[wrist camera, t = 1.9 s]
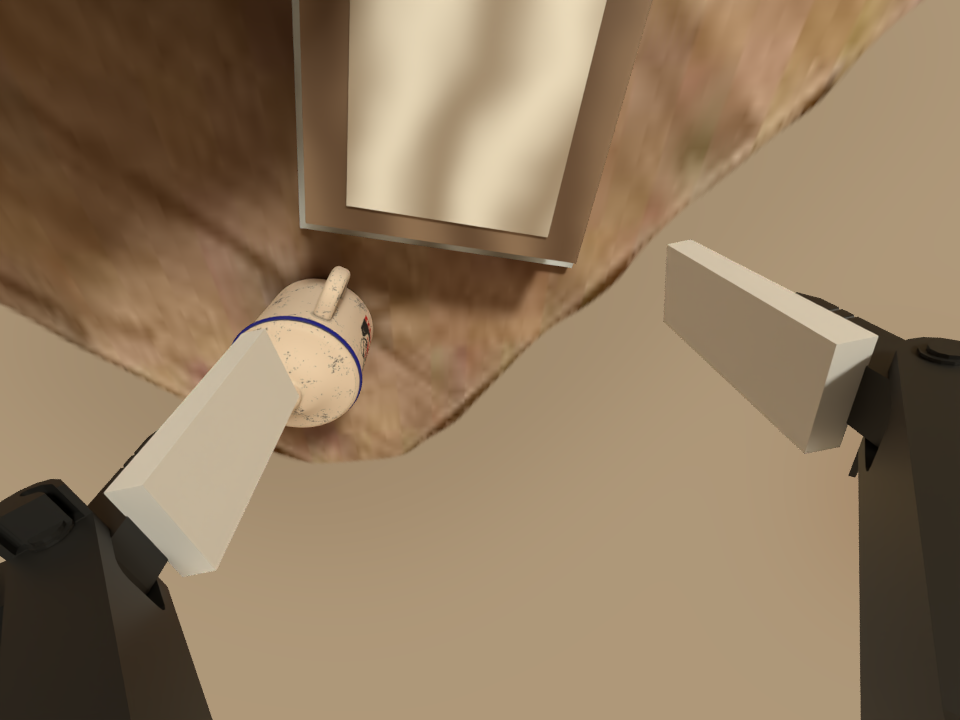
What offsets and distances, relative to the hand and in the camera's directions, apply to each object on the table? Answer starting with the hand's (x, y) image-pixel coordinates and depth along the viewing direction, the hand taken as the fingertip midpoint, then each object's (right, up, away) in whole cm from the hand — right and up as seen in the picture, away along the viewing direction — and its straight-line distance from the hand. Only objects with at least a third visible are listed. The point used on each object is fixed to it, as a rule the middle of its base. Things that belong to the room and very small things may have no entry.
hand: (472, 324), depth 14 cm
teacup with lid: (-13, +3, +23) cm, 27 cm away
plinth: (-1, +18, +16) cm, 24 cm away
